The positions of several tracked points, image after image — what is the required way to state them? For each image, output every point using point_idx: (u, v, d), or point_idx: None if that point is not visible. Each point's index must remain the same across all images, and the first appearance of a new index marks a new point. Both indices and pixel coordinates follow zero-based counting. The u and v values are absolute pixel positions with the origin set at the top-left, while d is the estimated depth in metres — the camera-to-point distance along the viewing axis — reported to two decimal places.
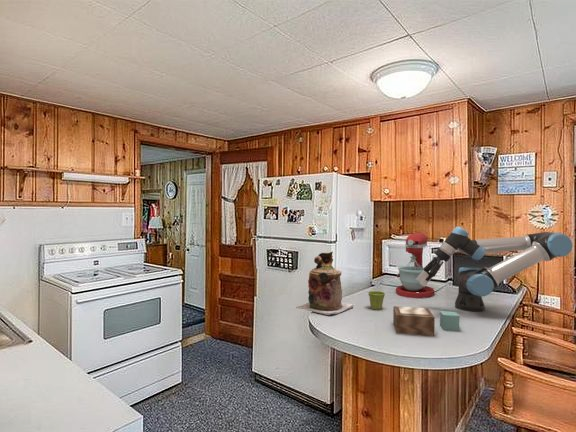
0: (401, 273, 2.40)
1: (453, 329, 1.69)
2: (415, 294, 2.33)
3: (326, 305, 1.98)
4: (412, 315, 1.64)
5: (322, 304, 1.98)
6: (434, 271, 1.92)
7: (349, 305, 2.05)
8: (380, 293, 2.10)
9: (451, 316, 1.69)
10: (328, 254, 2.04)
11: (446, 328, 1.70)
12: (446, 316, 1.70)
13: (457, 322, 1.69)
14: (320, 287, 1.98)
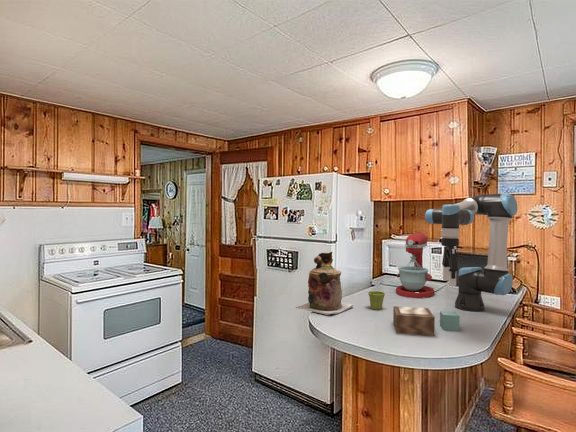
0: (401, 273, 2.40)
1: (453, 329, 1.69)
2: (415, 294, 2.33)
3: (326, 305, 1.98)
4: (412, 315, 1.64)
5: (322, 304, 1.98)
6: (454, 265, 1.64)
7: (349, 305, 2.05)
8: (380, 293, 2.10)
9: (451, 316, 1.69)
10: (328, 254, 2.04)
11: (446, 328, 1.70)
12: (446, 316, 1.70)
13: (457, 322, 1.69)
14: (320, 287, 1.98)
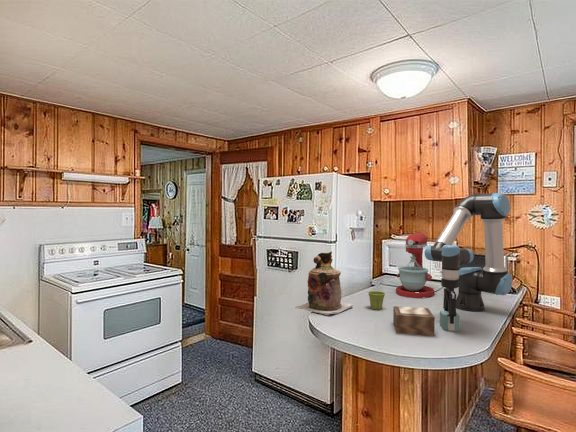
0: (401, 273, 2.40)
1: None
2: (415, 294, 2.33)
3: (326, 305, 1.98)
4: (412, 315, 1.64)
5: (321, 304, 1.98)
6: (452, 310, 1.66)
7: (348, 305, 2.05)
8: (380, 293, 2.10)
9: None
10: (327, 254, 2.04)
11: (446, 327, 1.70)
12: (446, 316, 1.70)
13: (457, 322, 1.69)
14: (319, 287, 1.98)
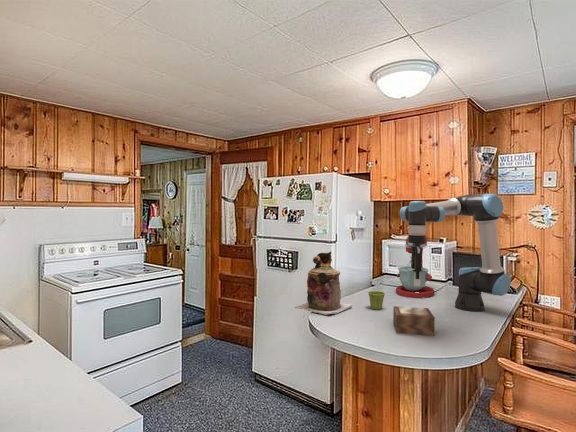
0: (401, 273, 2.40)
1: None
2: (415, 294, 2.33)
3: (325, 305, 1.98)
4: (412, 315, 1.64)
5: (321, 304, 1.98)
6: (418, 265, 1.64)
7: (348, 305, 2.05)
8: (380, 293, 2.10)
9: None
10: (327, 254, 2.04)
11: (412, 283, 1.68)
12: (412, 272, 1.68)
13: (423, 277, 1.67)
14: (319, 287, 1.98)
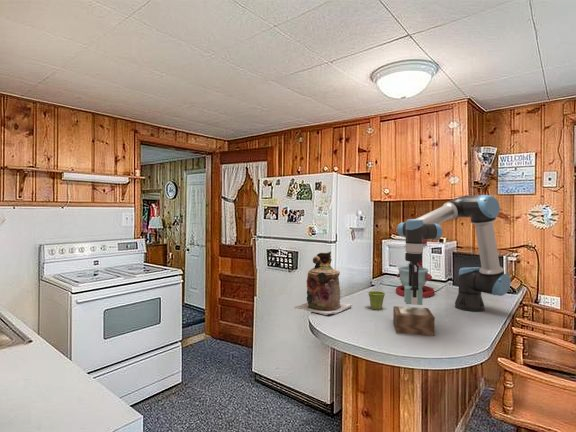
0: (401, 273, 2.40)
1: None
2: None
3: (325, 305, 1.98)
4: (412, 315, 1.64)
5: (320, 304, 1.98)
6: (415, 284, 1.64)
7: (347, 305, 2.05)
8: (380, 293, 2.10)
9: None
10: (326, 254, 2.04)
11: (409, 301, 1.68)
12: (409, 290, 1.68)
13: (420, 296, 1.67)
14: (318, 287, 1.98)
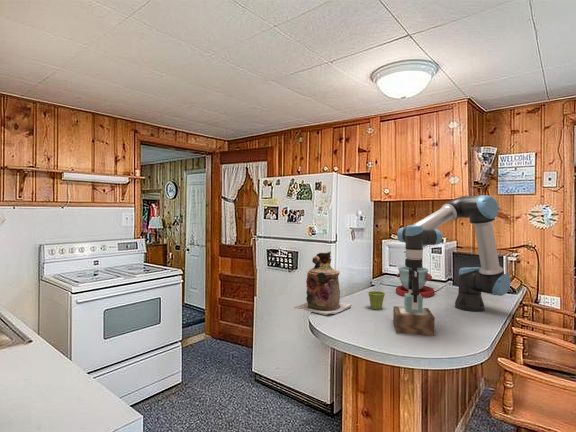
0: (401, 273, 2.40)
1: (416, 311, 1.67)
2: None
3: (324, 305, 1.98)
4: (412, 315, 1.64)
5: (320, 304, 1.98)
6: (415, 289, 1.63)
7: (347, 305, 2.05)
8: (380, 293, 2.10)
9: None
10: (326, 254, 2.04)
11: (409, 309, 1.68)
12: (409, 298, 1.68)
13: (420, 304, 1.67)
14: (318, 287, 1.98)
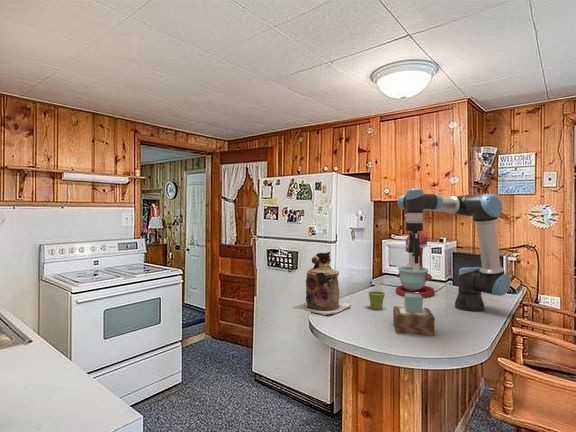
0: (401, 273, 2.40)
1: (416, 311, 1.67)
2: None
3: (324, 305, 1.98)
4: (412, 315, 1.64)
5: (320, 304, 1.98)
6: (416, 249, 1.62)
7: (346, 305, 2.05)
8: (380, 293, 2.10)
9: (414, 298, 1.68)
10: (325, 254, 2.04)
11: (409, 309, 1.68)
12: (409, 298, 1.68)
13: (420, 304, 1.67)
14: (318, 287, 1.98)
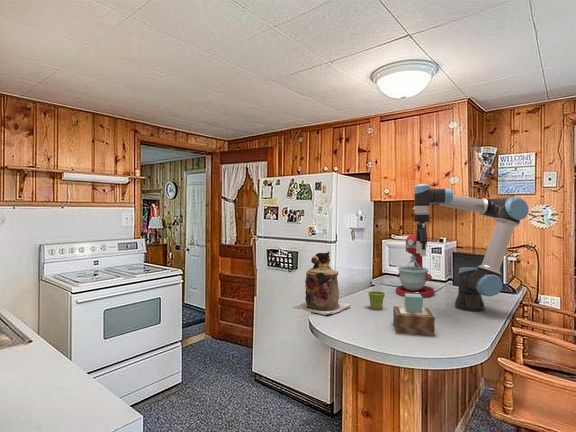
0: (401, 273, 2.40)
1: (416, 311, 1.67)
2: None
3: (323, 305, 1.98)
4: (412, 315, 1.64)
5: (319, 304, 1.98)
6: (423, 237, 1.85)
7: (346, 305, 2.05)
8: (380, 293, 2.10)
9: (414, 298, 1.68)
10: (325, 254, 2.04)
11: (409, 309, 1.68)
12: (409, 298, 1.68)
13: (420, 304, 1.67)
14: (317, 287, 1.98)
